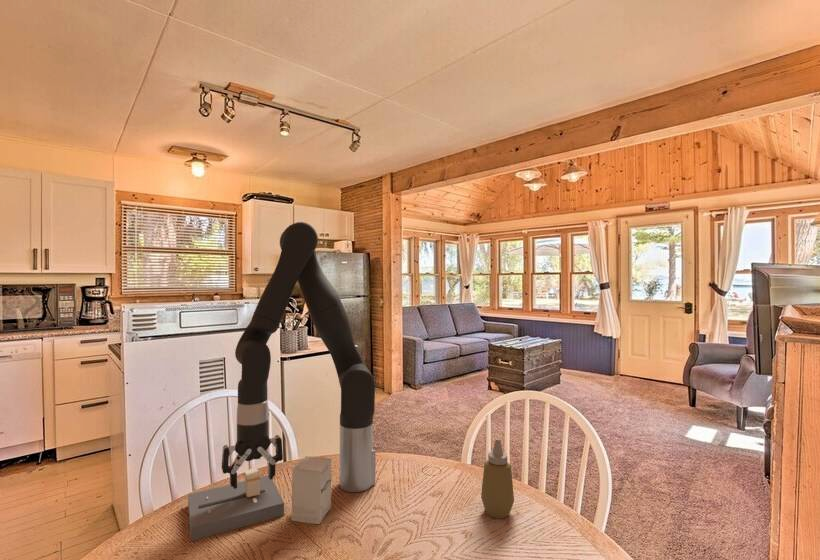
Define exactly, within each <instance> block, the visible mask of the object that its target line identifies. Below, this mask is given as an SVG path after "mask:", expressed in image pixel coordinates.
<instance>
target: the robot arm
mask: <svg viewBox="0 0 820 560" xmlns="http://www.w3.org/2000/svg"><path fill="white" fill-rule="evenodd" d="M318 244H319V236H318V233H317V230H316V229H315V228H314V227H313V225H311V224H309V223H307V222H305V221H304V222H303V221H299V222H294V223H292V224H290V225H288V227H286V229H284V230H283V232H282V233H281V235H280V238H279V247H280V250H281V251H280V254H279V255H280V256H279V259H278V260H277V261H278V262H277V264H276V267H275V269H274V271H273V274H272V275H271V277H270V279H269V281H268V283H267V285H266V286H265V288H264V290H263V291H262V294H261V296H260V298H259V300H258V301H257V305H256V308H255V310H254V312H253V315H252V317H251V320H250V322H249V323H248V325H247V326H246V328H245V330H244V331H243V333H242V335H241V336H240V337H239V340H238V341H237V345H236V347H235V350H234V352H235V358H236V361H237V362H238V363H239V364H241V377H240V378H241V379H239V382H237V383H238V384H237V407H236V441H235V442H236V443H235V445H227V444H225V445H223V447H222V455H221V457H222V458H221V470H222V473H223V474H229V485H230V484H231V487H233V488H234V489H235V488H237V483H238V472H237V471H238V470H239V469H240V467H242V465H243V464H244V463H245V462H251V461H253V460H261V458H262V457H263V458H264V459H265V460H266V461H268V465H267V466H268V467H267V468H268V469H267V470H268V472H267V473H268V475H267V476H268V477H269V479H270V480H271V479H272V480H274V477H275V476H276V464H277V463H278V462H281V461H283V460H284V454H283V441H282V437H281V436H280V435H279V434H276V435H275V436H274V437H271V438H270V437H269V435H270V431H269V429H270V428H269V426H270V424H269V423H270V422H269V418H270V412H269V410H270V409H269V402H268V380H269V375H270V369H271V361H272V359H271V358H272V357H271V356H272V355H271V349H270V348H269V345H267V343H268V341H269V340H270V338H271V336H272V335H273V334H275V333H277V331H278V329H279V328H280V326H281V322H282V321H283V317H284V315H285V313H286V310H287V307H288V304H289V302H290V300H291V298H292V297H291V296H292V294H293V291H294V288H295V287H296V284H297V283H298V285H299V288H300V292H301V295H302V297H303V300H304V303H305V305H306V307H307V310H308V313H309V315H310V318H311V320H312V323H313V325H314V327H315V329H316V332H317V333H318V335H319V337H320V339H321V340H322V342H323V344H324V345H325V347H326V348H327V350H328V352H329V354H330V356H331V359H332V362H333V364H334V368H335V370H336V375H337V377H338V382H339V386H340V413H339V477H338V479H339V481H338V482H339V483H338V484H339V485H338V486H339V487H340V489H341V490H343V491H345V492H349V493H359V492H364V491H367V490H369V489H370V488H371V487H372V486H374V485H376V467H377V466H376V464H377V463H376V460H377V459H376V453H377V452H376V449H374V448H373V447H374V437H373V436H374V415H375V409H376V408H375V406H376V405H375V404H376V402H375V401H376V400H375V399H376V397H375V396H376V383H375V378H374V376H373V374H372V372H371V371H370V370H369V368H368V367H367V365H366V364H365V362H364V361H363V359H362V357H361V355H360V353H359V351H358V349H357V347H356V344H355V342H354V337H353V333H352V328H351V325H350V322H349V318H348V315H347V312H346V310H345V307H344V305H343V302H342V300H341V297H340V296H339V293H338V292H337V290H336V289H335V288H334V286H333V285H332V283H331V282H330V280H329V279H328V278H327V276H326V275H325V273H324V272H323V270H322V268H321V265H320V264H319V260H318V258H317V254H316V252H315V251H316V249H317V247H318ZM271 444H272V446H274V447H275V455H273V456H272V455H271V454H270V452H269V451H268V449H269V448H270V446H271ZM233 452H235V453H237V455H236V457H235V458H234V460H233V462H232V464H231V465H229V462H230V456H232V455H233Z"/></svg>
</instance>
